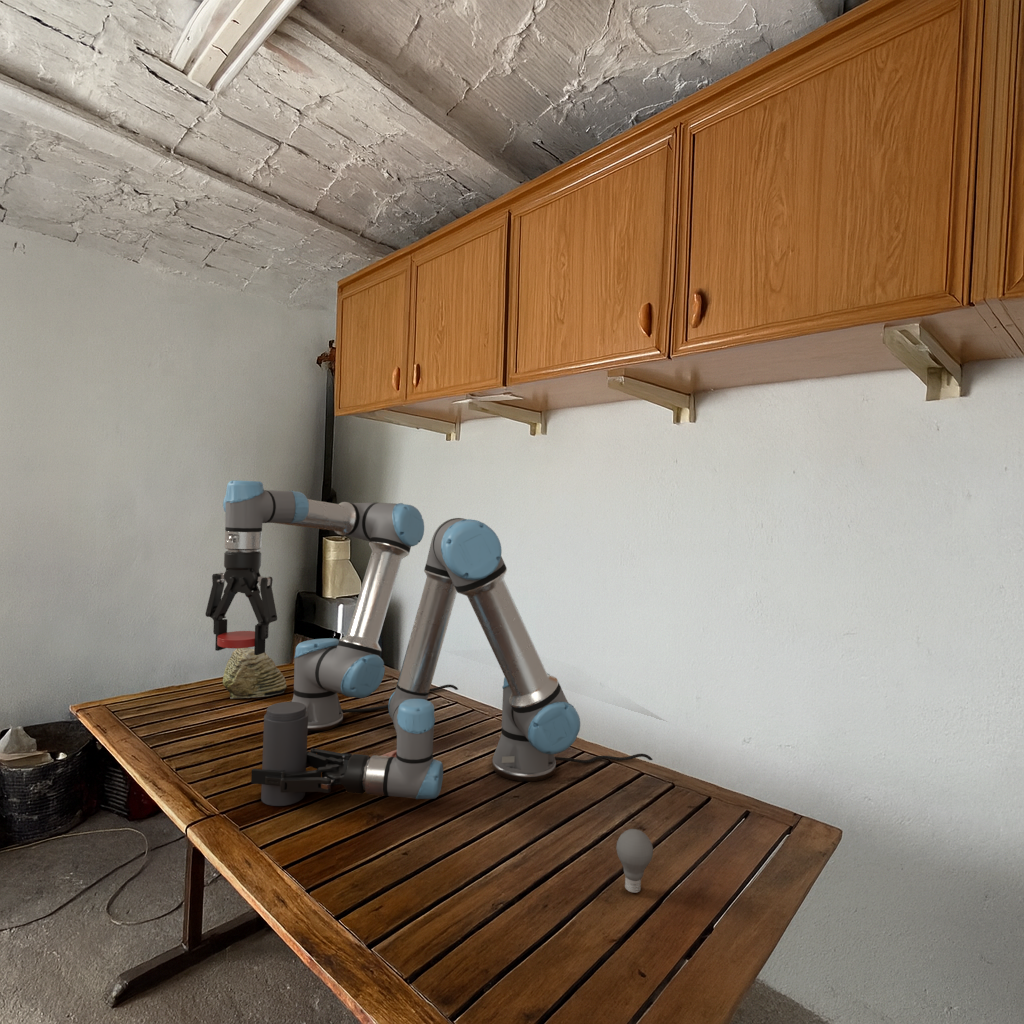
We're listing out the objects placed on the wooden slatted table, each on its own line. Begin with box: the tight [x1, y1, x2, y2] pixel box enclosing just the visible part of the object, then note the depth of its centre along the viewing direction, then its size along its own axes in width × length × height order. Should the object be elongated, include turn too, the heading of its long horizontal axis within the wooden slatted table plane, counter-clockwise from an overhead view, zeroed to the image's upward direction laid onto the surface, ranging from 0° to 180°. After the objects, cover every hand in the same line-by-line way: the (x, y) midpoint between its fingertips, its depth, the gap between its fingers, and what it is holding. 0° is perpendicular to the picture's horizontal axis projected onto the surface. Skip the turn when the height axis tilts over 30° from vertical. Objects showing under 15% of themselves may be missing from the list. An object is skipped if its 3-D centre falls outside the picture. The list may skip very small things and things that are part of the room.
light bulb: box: [615, 828, 654, 894], centre depth 106 cm, size 6×6×10 cm
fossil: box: [222, 647, 288, 699], centre depth 198 cm, size 9×18×15 cm, turn 132°
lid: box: [217, 630, 255, 649], centre depth 140 cm, size 9×9×2 cm
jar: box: [260, 701, 309, 807], centre depth 133 cm, size 9×9×19 cm
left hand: (240, 651), depth 140 cm, fingers closed on lid, 9 cm apart
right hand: (263, 766), depth 134 cm, fingers closed on jar, 9 cm apart
